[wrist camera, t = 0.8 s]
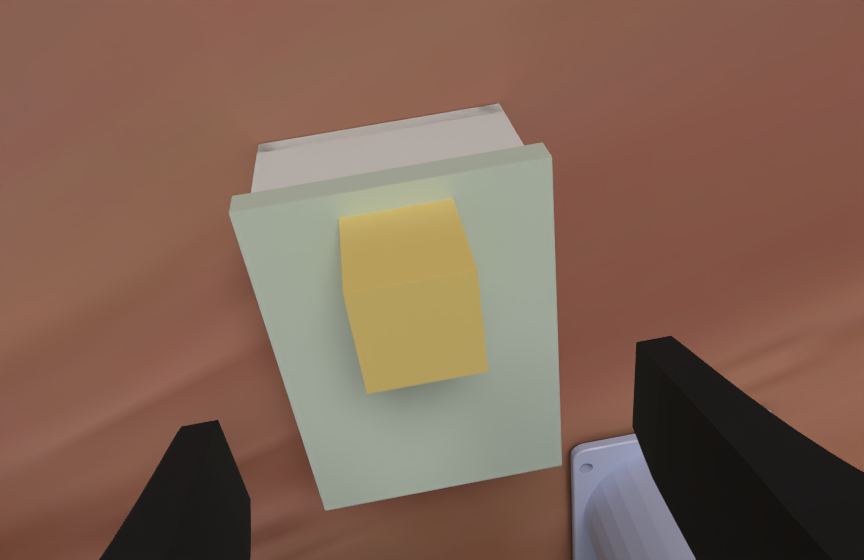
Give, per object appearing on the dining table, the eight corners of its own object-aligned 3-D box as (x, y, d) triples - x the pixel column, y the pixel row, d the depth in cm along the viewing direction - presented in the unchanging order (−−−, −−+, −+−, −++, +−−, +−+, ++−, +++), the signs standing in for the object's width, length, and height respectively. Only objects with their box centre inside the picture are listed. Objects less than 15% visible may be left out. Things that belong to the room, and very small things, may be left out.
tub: (518, 366, 25) (544, 441, 22) (330, 401, 25) (332, 481, 22) (499, 103, 20) (530, 156, 17) (258, 144, 20) (248, 205, 17)
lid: (546, 422, 23) (593, 550, 19) (324, 464, 23) (327, 603, 19) (531, 126, 18) (594, 222, 14) (236, 177, 17) (213, 290, 13)
